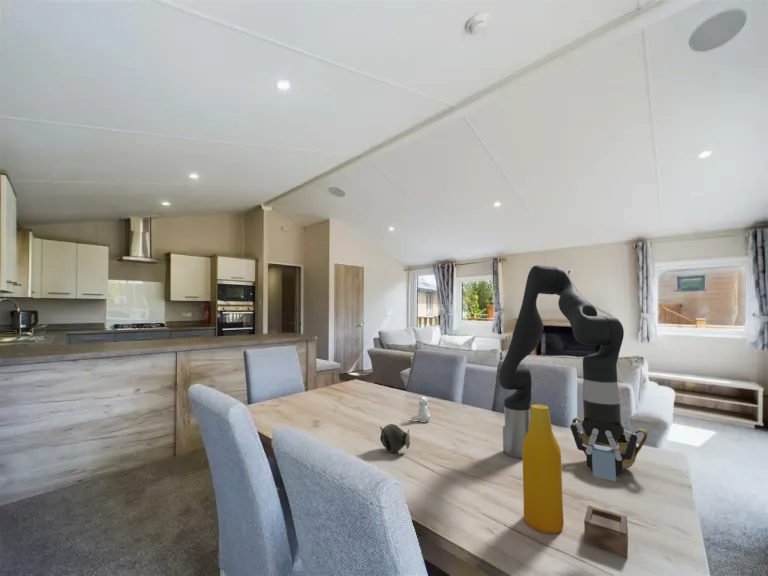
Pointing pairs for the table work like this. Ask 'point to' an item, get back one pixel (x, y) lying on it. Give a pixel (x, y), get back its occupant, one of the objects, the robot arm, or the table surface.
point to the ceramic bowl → (621, 443)
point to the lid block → (603, 462)
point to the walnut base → (606, 531)
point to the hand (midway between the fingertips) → (604, 472)
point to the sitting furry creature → (422, 410)
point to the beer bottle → (542, 474)
